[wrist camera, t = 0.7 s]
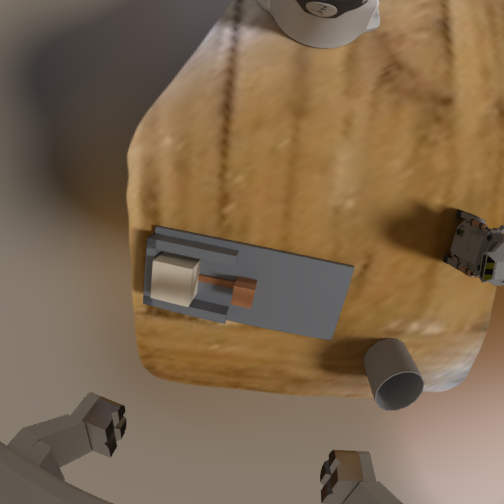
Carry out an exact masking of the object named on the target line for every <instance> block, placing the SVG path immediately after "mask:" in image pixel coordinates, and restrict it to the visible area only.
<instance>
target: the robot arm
mask: <svg viewBox="0 0 504 504" xmlns="http://www.w3.org/2000/svg"><path fill="white" fill-rule="evenodd" d="M258 4H259V5H260V6H261V7H262V8H263V9H265V10H266V11H268V12H269V13H270V14H271V15H272V16H273V18H274V19H275V21H276V23H277V25H278V26H279V27H280V29H281V30H282V31H283V32H284V33H285V34H287V35H288V36H289V37H291V38H292V39H294V40H296V41H297V42H300V43H302V44H305V45H308V46H311V47H316V48H335V47H340V46H343V45H346V44H348V43H350V42H352V41H353V40H355V39H356V38H357V37H358V36H360V35H361V34H362V33H364V32H369V31H373V30H376V29H377V28H378V27H379V25H380V17H379V10H378V6H379V1H378V0H258ZM124 413H125V406H124V405H121V404H119V403H116V402H114V401H111V400H109V399H106V398H104V397H102V396H99V395H97V394H94V393H92V392H90V393H88V394H87V396H86V397H85V398H84V399H83V400H82V402H81V403H80V404H79V405H78V407H77V408H76V409H75V411H74V412H73V413H72V414H71V415H68V414H67V415H64V416H61V417H57V418H54V419H51V420H48V421H45V422H41V423H38V424H34V425H31V426H28V427H24V428H22V429H21V430H20V431H19V432H18V433H17V435H16V436H15V437H14V438H13V439H12V440H11V441H10V443H9V444H8V445H7V446H6V445H5V444H3V443H2V442H0V504H113V503H110V502H108V501H106V500H103V499H101V498H98V497H96V496H94V495H92V494H90V493H87V492H85V491H83V490H81V489H79V488H77V487H75V486H73V485H71V484H69V483H67V482H65V479H64V476H63V474H62V472H61V470H60V467H62V466H63V465H66V464H68V463H70V462H72V461H74V460H76V459H77V458H80V457H82V456H83V455H85V454H87V453H89V452H91V451H92V450H93V451H95V452H98V453H100V454H103V455H105V456H108V457H111V456H112V454H113V453H114V451H115V449H116V448H117V443H116V441H118V440H120V439H122V437H123V435H124V433H125V430H126V418H125V417H124V416H123V415H124ZM320 482H321V483H322V484H323V486H324V487H323V488H322V490H321V503H323V504H403V503H401V502H400V501H399V500H398V499H397V498H396V497H395V496H394V495H393V494H392V493H391V492H390V491H389V490H387V488H386V487H384V486H383V485H382V484H381V483H380V482H376V478H375V474H374V469H373V465H372V460H371V456H370V453H369V452H365V451H344V450H332V451H331V452H330V454H329V460H327V461H325V462H324V464H323V466H322V469H321V474H320Z"/></svg>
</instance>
